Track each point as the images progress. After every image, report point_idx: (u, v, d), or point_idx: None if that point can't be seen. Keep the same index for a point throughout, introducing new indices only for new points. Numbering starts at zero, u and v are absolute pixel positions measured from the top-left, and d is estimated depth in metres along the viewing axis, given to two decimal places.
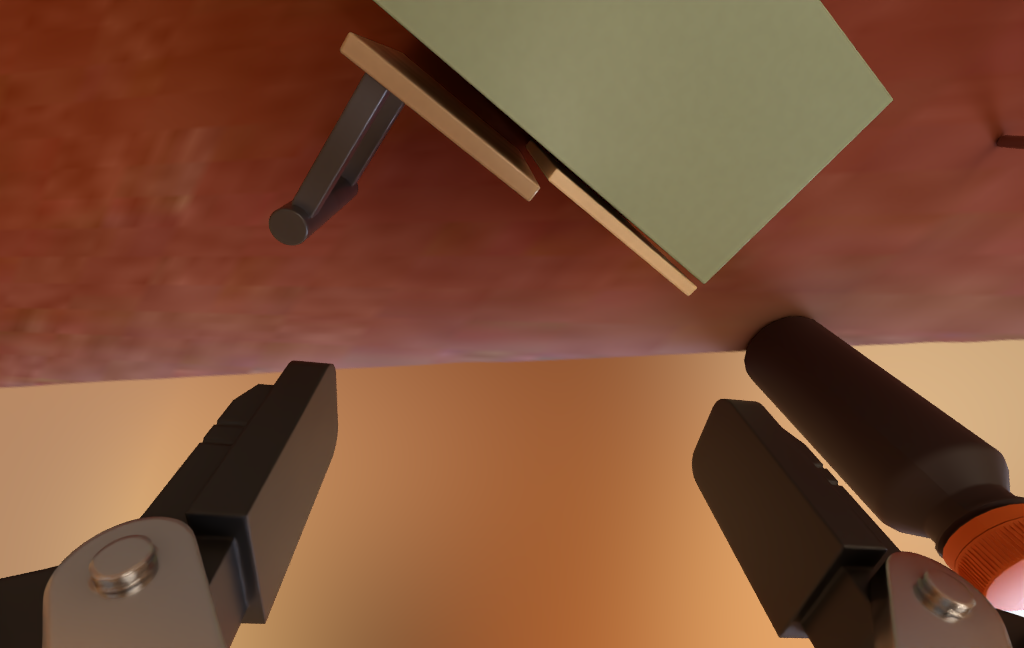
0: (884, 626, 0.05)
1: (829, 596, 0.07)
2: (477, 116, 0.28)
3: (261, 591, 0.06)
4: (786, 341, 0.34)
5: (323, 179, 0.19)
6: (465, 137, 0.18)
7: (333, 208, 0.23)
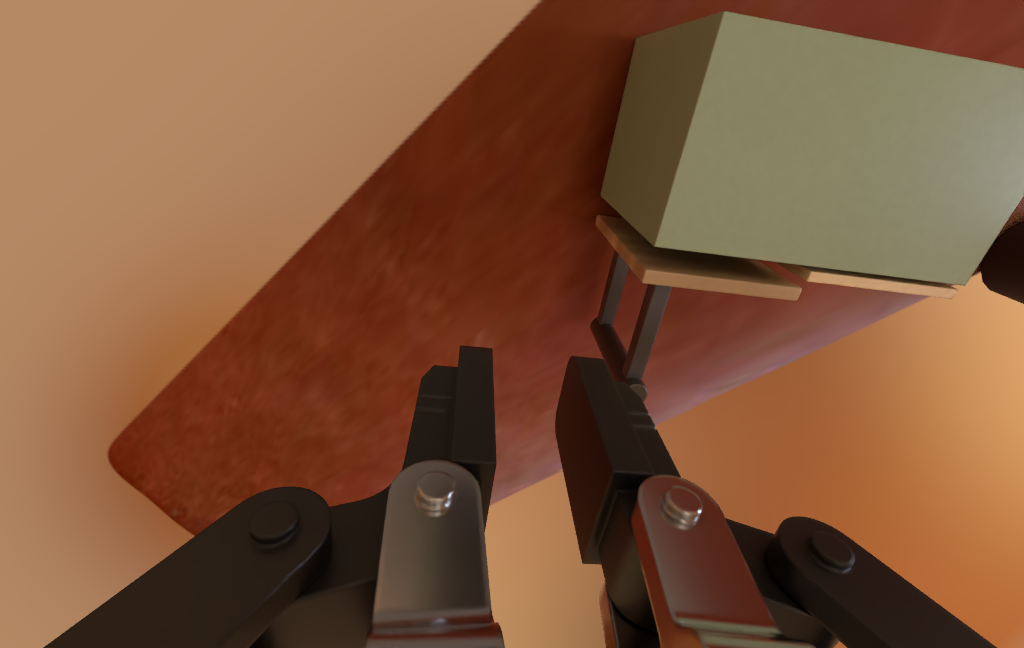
0: (650, 566, 0.06)
1: (617, 521, 0.07)
2: None
3: (484, 530, 0.07)
4: None
5: (644, 354, 0.27)
6: (738, 287, 0.25)
7: None
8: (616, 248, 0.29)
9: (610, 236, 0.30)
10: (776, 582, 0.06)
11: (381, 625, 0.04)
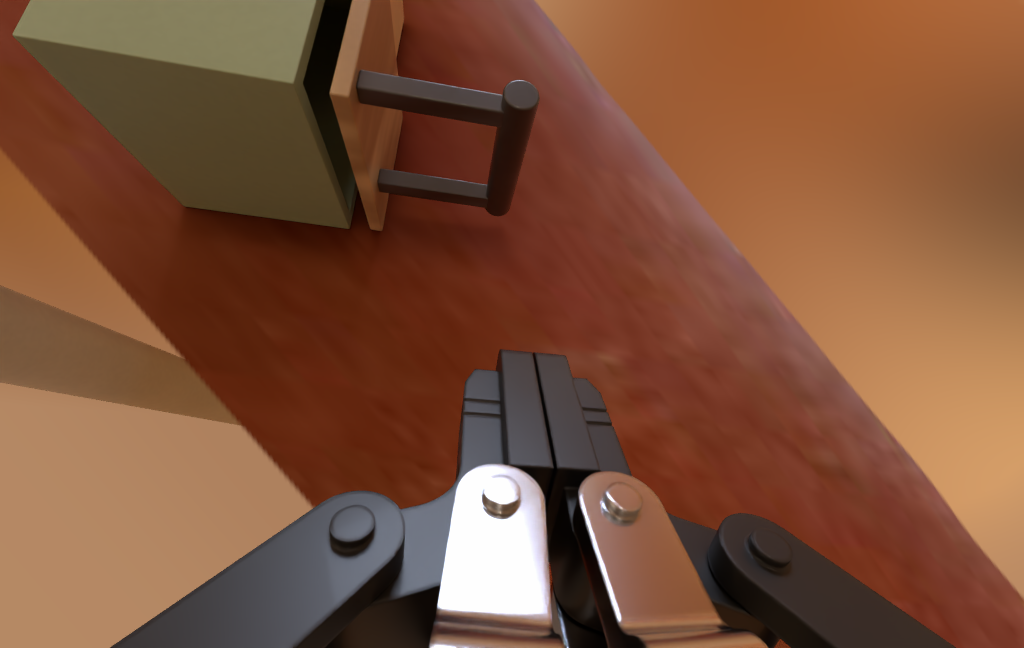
0: (594, 570, 0.06)
1: None
2: None
3: None
4: None
5: (464, 93, 0.20)
6: None
7: None
8: (364, 174, 0.24)
9: (364, 192, 0.25)
10: (716, 580, 0.06)
11: (446, 619, 0.04)
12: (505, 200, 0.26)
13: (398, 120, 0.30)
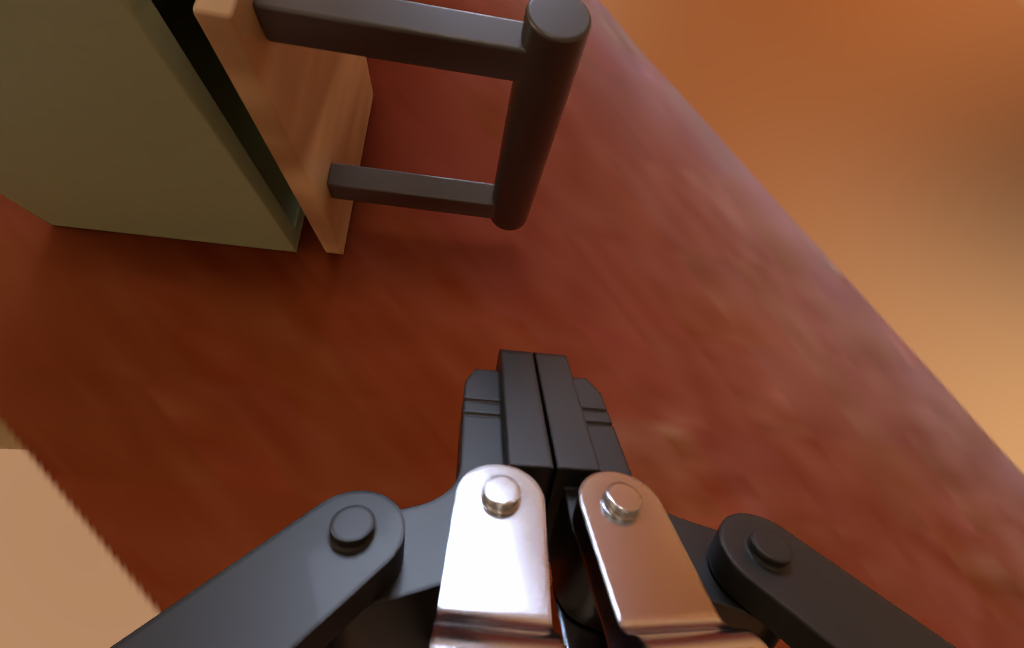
0: (594, 570, 0.06)
1: None
2: None
3: None
4: None
5: (455, 18, 0.11)
6: None
7: None
8: (297, 170, 0.15)
9: (305, 199, 0.16)
10: (715, 580, 0.06)
11: (446, 619, 0.04)
12: (522, 207, 0.17)
13: (365, 96, 0.21)
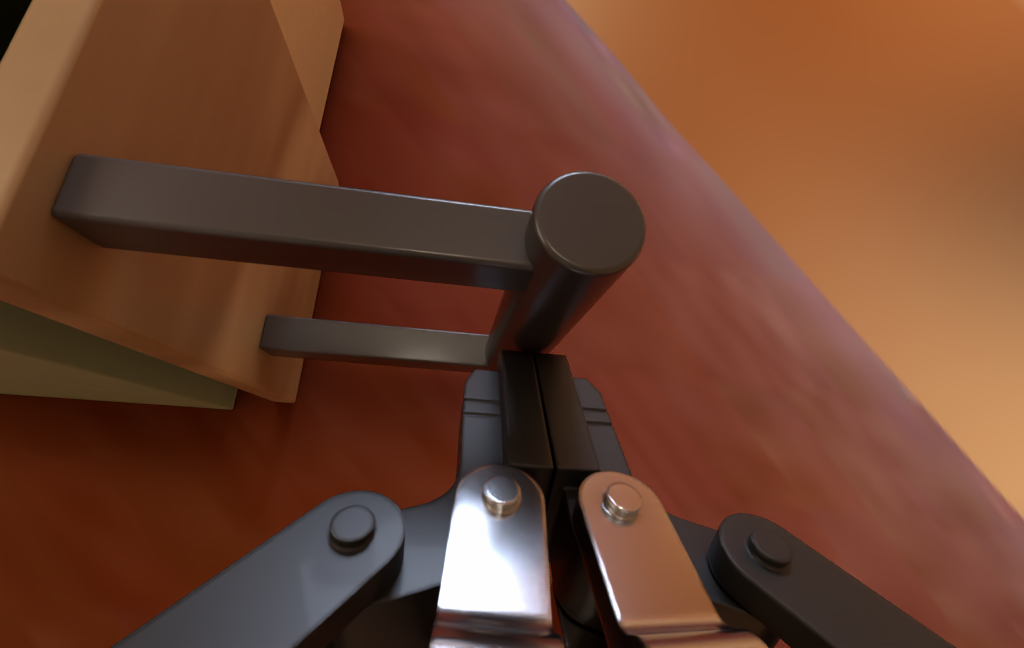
0: (594, 570, 0.06)
1: None
2: None
3: None
4: None
5: (413, 215, 0.07)
6: None
7: None
8: (200, 367, 0.10)
9: (224, 379, 0.12)
10: (716, 580, 0.06)
11: (446, 618, 0.04)
12: None
13: None
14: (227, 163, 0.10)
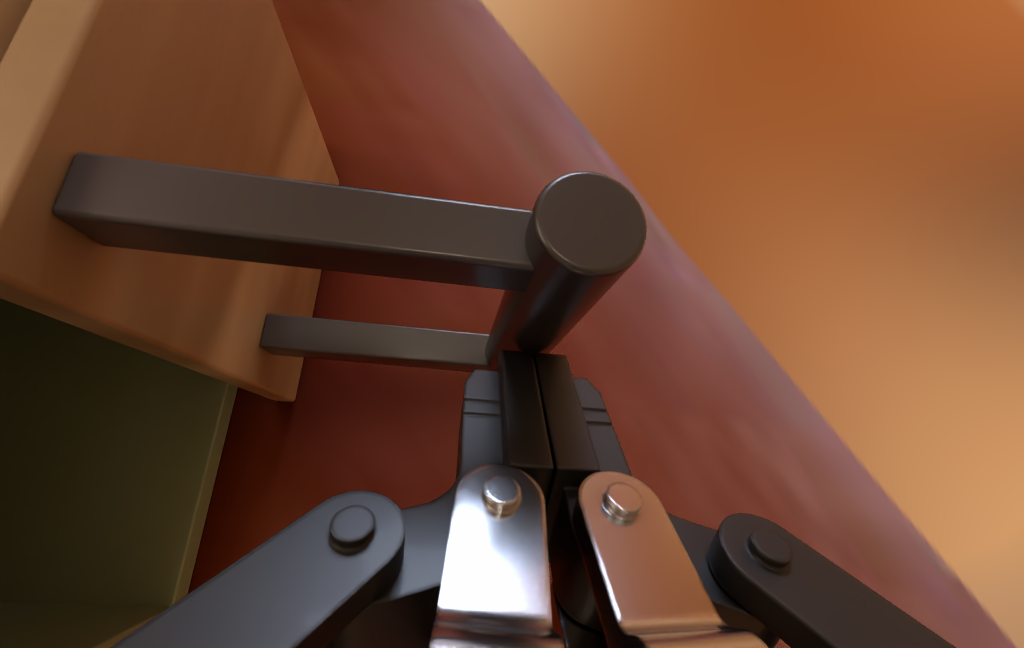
0: (594, 570, 0.06)
1: None
2: None
3: None
4: None
5: (413, 214, 0.07)
6: None
7: None
8: (200, 366, 0.10)
9: (224, 378, 0.12)
10: (715, 580, 0.06)
11: (446, 619, 0.04)
12: None
13: None
14: (228, 161, 0.10)
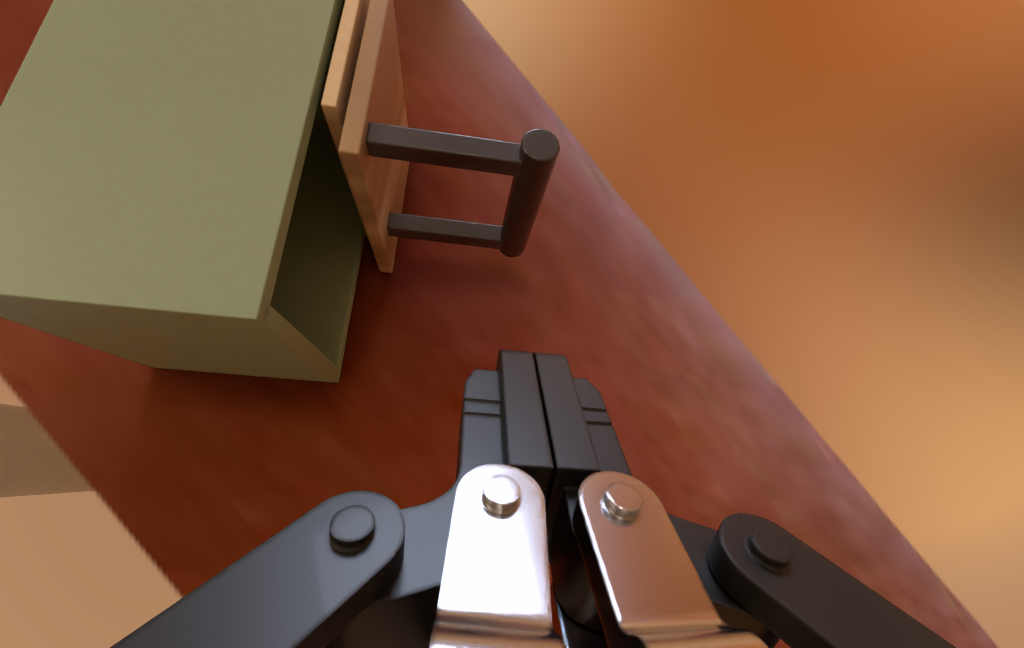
0: (594, 570, 0.06)
1: None
2: None
3: None
4: None
5: (480, 144, 0.19)
6: (368, 45, 0.19)
7: None
8: (374, 223, 0.22)
9: (374, 239, 0.24)
10: (716, 580, 0.06)
11: (446, 619, 0.04)
12: (521, 243, 0.25)
13: None
14: None
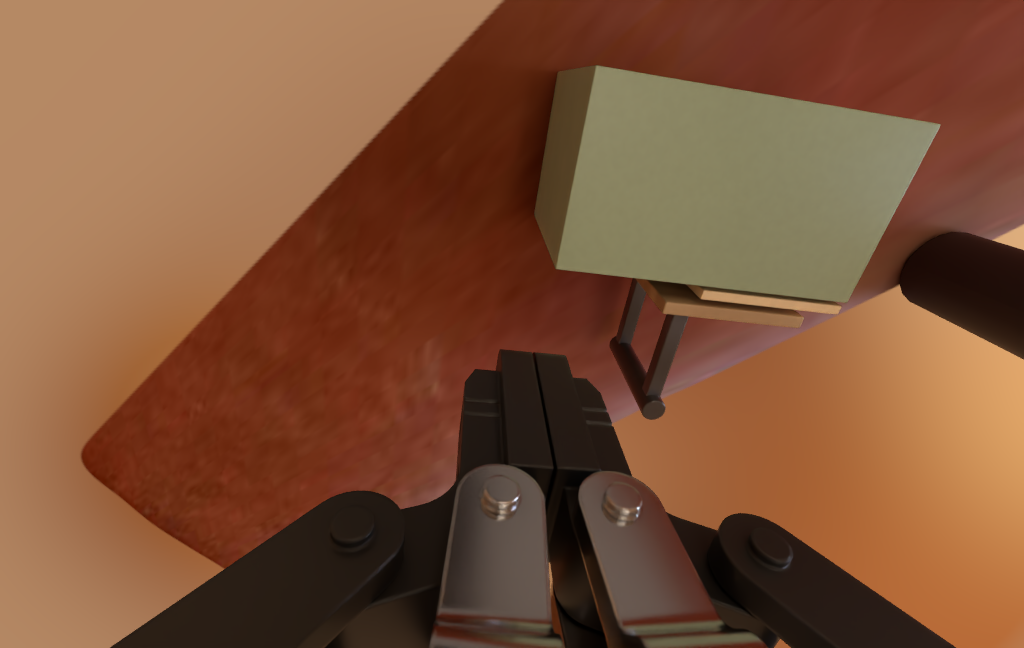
0: (594, 570, 0.06)
1: None
2: None
3: None
4: (936, 267, 0.37)
5: (662, 374, 0.30)
6: (747, 316, 0.28)
7: (647, 374, 0.34)
8: None
9: None
10: (716, 580, 0.06)
11: (446, 619, 0.04)
12: None
13: None
14: None
